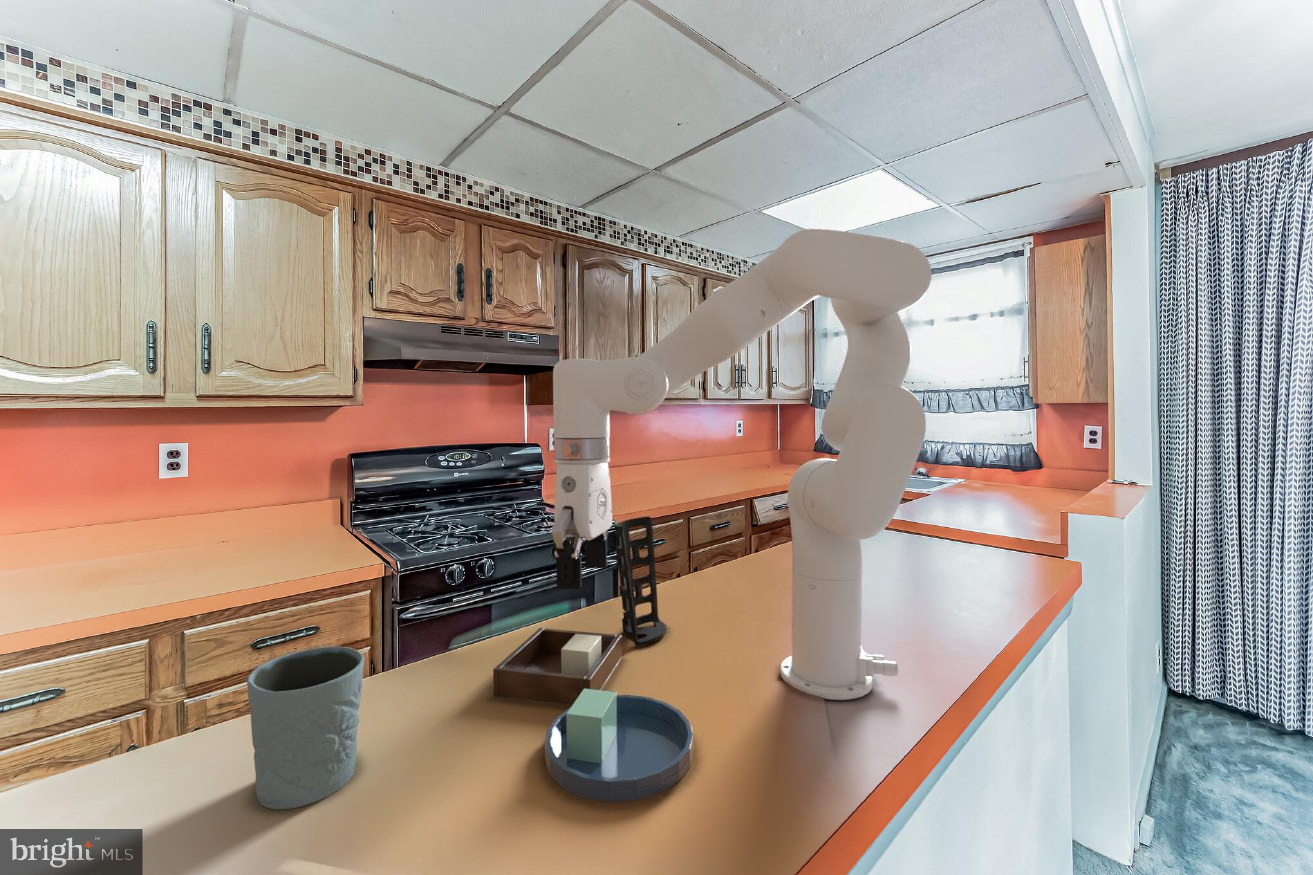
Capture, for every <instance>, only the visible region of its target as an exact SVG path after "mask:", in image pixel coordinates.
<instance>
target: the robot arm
mask: <svg viewBox="0 0 1313 875" xmlns="http://www.w3.org/2000/svg"><path fill="white" fill-rule="evenodd" d="M931 282H932V268H931V263H930V261H929V259H928V257H927V256H926V254H925V253H924V252H923V251H922V250H921V249H920V248H918V247H917V246H915V245H913V244H911V243H909V242H906V241H904V240H901V239H900V240H899V239H896V238H895V239H894V238H888V237H881V236H875V235H870V234H864V233H863V234H862V233H856V232H850V231H843V230H836V229H828V228H827V229H826V228H808V229H807V228H806V229H801V230H799V231H796V232H793V233H792V234H791V235H790V236H788V237H787V238H786V239H785V240H784V241H783V242H782V243H781V244H780V245H779V246H778V247H777V248H776V249H775V250H773V251H772V252H771V253H770V254H768V255H767V256H765V258H763V259H761V260H760V261H759V262H757V263H756V264H755V265H753V266H752V267H750V268H749V269H748V270H746V271H745V272H744V273H742V274H741V275H739V276H738V277H737V278H735V279H734V280H732V281H731V282H730V283H728V284H727V285H725V286H724V287H722V288H720V289H719V290H718V291H716V292H715V293H713V294H712V295H710V296H709V297H708V298H706V299H705V300H703V301H701V303H700V304H699V305H697V306H696V307H695V308H694V309H693V310H692V311H690V313H689V314H688V315H687V316H686V317H685V318H684V319H683V320H682V321H681V322H680V323H679V324H678V325H677V326H676V327H675V328H674V329H673V330H672V331H670V332H669V333H668V334H667V335H665V336H664V337H663V338H662V339H660V340H659V341H657V342H656V343H655V344H654V345H652V346H651V347H650V348H647V350H645V351H644V352H642V353H641V354H639V355H638V356H629V357H628V356H627V357H622V358H621V357H620V358H614V359H604V360H600V359H593V358H567V359H562V360H558V361H557V362H556V363H555V364H554V366H553V369H552V404H553V405H552V407H553V408H552V411H553V463H554V464H557V465H556V474H555V475H556V476H555V488H554V523H553V525H552V527H551V535H552V540H553V543H552V545H553V549H554V550H555V551H554V557H555V559H556V587H557V588H559V589H565V590H581V588H582V585H583V579H582V578H583V573H582V569H583V568H582V567H583V566H582V564H583V563H582V562H583V561H582V556H579V555H580V551H581V548H582V543H583V541H584V566H585V568H589V569H605V568H607V567H608V540H607V539H608V530H610V529H611V527H612V525H613V504H612V488H611V487H612V486H611V475H610V468H609V463H610V462H611V422H610V421H611V419H610V418H611V417H610V416H611V414H610V413H611V411H614V412H623V413H627V414H631V415H641V414H647V413H651V412H652V411H654V410H656V409H657V408H658V407H660V405H661V404H662V403H663V402H664V400H665V399H666V398H667V397H669V396H670V395H672V394H673V393H674V392H676V391H677V390H679V389H680V388H681V387H683V386H684V385H685V384H687V383H689V382H690V381H691V380H693V379H694V378H696V377H698V376H699V375H701V374H702V373H704V372H706V371H708V370H709V369H711V368H713V367H716V366H717V365H719V364H722V363H723V362H726V361H728V360H729V359H730V358H732V357H733V356H735V355H737V354H738V353H740V352H741V351H743V350H744V349H746V348H747V347H749V345H751V344H752V343H754V342H755V341H757V340H758V339H759V338H760V337H762V336H764V335H765V334H767V333H768V332H769V331H771V330H772V329H773V328H775V327H776V326H778V325H779V324H780V323H782V322H784V321H785V320H786V319H788V318H789V317H790V316H792V315H793V314H794V313H796V312H797V311H798V310H800V309H801V308H803V307H804V306H806V305H807V304H808V303H810V302H811V301H814V300H815V299H817V298H818V297H822V298H829V299H830V302H831V308H832V310H833V311H834V314H835V315H836V317H837V319H838V320H839V322H840V323H841V325H842V327H843V329H844V332H845V333H846V334H845V335H846V337H847V350H846V354H845V358H844V361H843V364H842V367H841V370H840V372H839V375H838V378H837V380H836V382H835V385H834V387H833V390H832V393H831V395H830V398H829V401H828V402H827V405H826V407H825V410H824V412H823V416H822V420H821V433H822V436H823V439H824V440H825V442H826V443H827V444H828V445H829V446H830V447H831V448H833V449H835V450H836V451H837V452H839V453H838V456H837V458H836V459H835V458H817V459H816V458H815V459H812V460H809V461H807V462H805V463H803V464H802V465H801V466H799V467H798V468H797V469H796V470H795V472H794V473H793V475H792V476H791V479H790V481H789V485H788V490H787V506H788V507H787V508H788V514H789V521H790V529H791V550H792V551H791V552H792V553H791V556H792V557H791V558H792V559H791V560H792V567H791V655H789V656H788V657H786V658H784V659H783V660H782V661H781V663H780V675H781V678H782V680H783V681H784V682H786V683H787V684H788V685H790V686H791V687H793V688H794V689H796V690H799V691H801V692H803V693H806V694H809V695H813V696H817V697H822V698H823V699H824V700H833V701H848V700H855V699H858V698H862V697H864V696H865V695H867V694H869V693H870V692H871V691H872V689H873V687H874V686H873V685H874V684H873V683H874V680H873V678H874V675H881V676H885V677H896V678H897V677H898V676H899V666H898V662H897V661H893V660H891V661H890V660H885V656H884V655H883V654H868V653H867V652H866V651H864V649H863V646H862V612H863V611H862V609H863V608H862V606H863V604H862V603H863V602H862V599H863V596H862V595H863V553H862V552H863V551H862V544H861V540H867V539H871V538H873V537H875V536H877V535H878V534H880V533H881V532H882V531H884V530H885V529H886V528H887V527H888V525H889V524H890V523H891V521H892V520H893V519H894V516H895V514H896V512H897V510H898V509H899V507H900V504H901V501H902V498H903V496H904V494H905V491H906V488H907V486H908V483H909V481H910V478H911V477H912V473H913V470H914V468H915V465H916V463H917V461H918V458H919V456H920V453H921V450H922V448H923V444H924V440H925V436H926V431H927V430H926V429H927V423H926V420H927V419H926V414H925V410H924V407H923V405H922V403H921V401H920V400H919V398H918V397H917V396H916V395H915V393H913V392H912V391H911V390H909V389H907V388H906V387H904V386H903V385H904V382H905V379H906V376H907V373H908V370H909V366H910V363H911V356H912V355H911V354H912V346H911V341H910V337H909V334H908V331H907V329H906V326H905V325H904V323H903V320H902V319H901V316H900V315H899V313H900V312H902V311H905V310H907V309H909V308H911V307H913V306H914V305H916V304H917V303H918V302H919V301H921V299H923V298H924V296H925V294H926V293H927V291H928V289H929V288H930V285H931ZM583 539H584V540H583ZM572 542H573V544H572Z"/></svg>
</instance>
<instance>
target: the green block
mask: <svg viewBox="0 0 1313 875" xmlns="http://www.w3.org/2000/svg"><path fill="white" fill-rule="evenodd" d="M617 695H618V693H617V691H609V690H592V689H584V690H583V691H582V692H581V694H580V695H579V697H578V698H577V700H576V701H575V702H574V704H573V705H571V706H570V707H569V708H570V709H569V708H568V709H569V711H568V712H567V714H566V720H567V759H572V760H579V761H586V762H593V763H600V764H602V762H603V760H604V758H605V756H606V754H607V752H608V750H609V748H610V746H611V744H612V742H613V740H614V738H615V736H616V734H617Z"/></svg>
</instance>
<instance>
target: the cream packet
mask: <svg viewBox="0 0 1313 875" xmlns="http://www.w3.org/2000/svg"><path fill="white" fill-rule="evenodd" d="M600 657H601V636H596V635H585V634H575V635H574V636H573V637H572V638H571V639H570V640H569V642H568V643H567V644H566V645H565V646H564V647H563V648H562V649H561V674H568V675H578V676H587V675H588V673H589V672H590V671H591V669H592V668H593V667H594V665H595V664H596V663H597V661H598V660H599V658H600Z"/></svg>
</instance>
